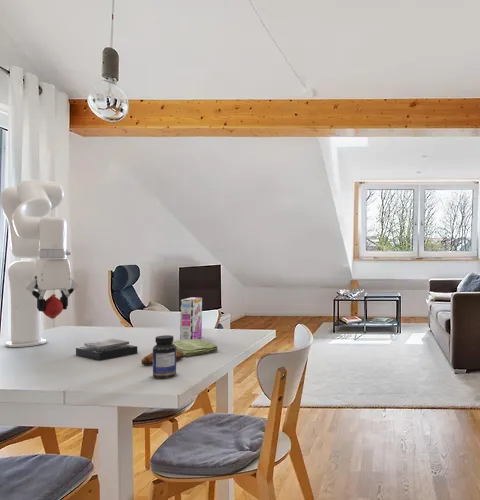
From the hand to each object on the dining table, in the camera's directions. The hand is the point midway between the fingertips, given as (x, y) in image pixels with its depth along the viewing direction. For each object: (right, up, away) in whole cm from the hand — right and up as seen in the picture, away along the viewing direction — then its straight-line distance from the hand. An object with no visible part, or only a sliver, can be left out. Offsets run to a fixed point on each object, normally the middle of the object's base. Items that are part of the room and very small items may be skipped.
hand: (52, 309), depth 155 cm
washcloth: (+42, -16, +11) cm, 46 cm away
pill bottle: (+45, -16, -23) cm, 53 cm away
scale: (+14, -16, +6) cm, 22 cm away
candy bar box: (+34, -16, +33) cm, 50 cm away
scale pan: (+14, -13, +7) cm, 20 cm away
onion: (0, -3, 0) cm, 3 cm away
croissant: (+38, -16, -6) cm, 42 cm away
